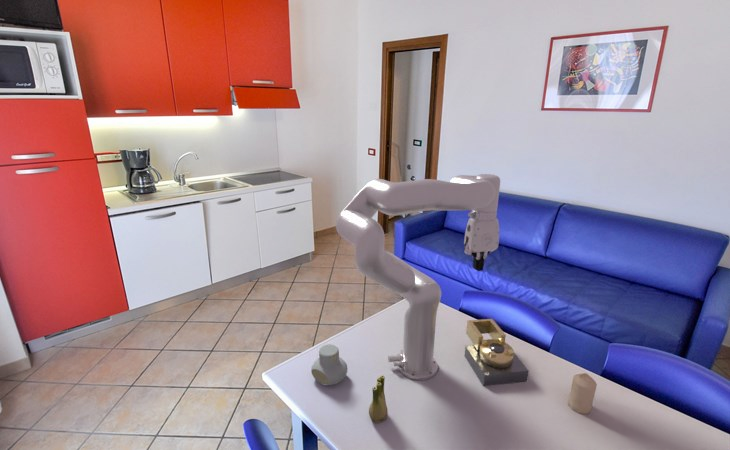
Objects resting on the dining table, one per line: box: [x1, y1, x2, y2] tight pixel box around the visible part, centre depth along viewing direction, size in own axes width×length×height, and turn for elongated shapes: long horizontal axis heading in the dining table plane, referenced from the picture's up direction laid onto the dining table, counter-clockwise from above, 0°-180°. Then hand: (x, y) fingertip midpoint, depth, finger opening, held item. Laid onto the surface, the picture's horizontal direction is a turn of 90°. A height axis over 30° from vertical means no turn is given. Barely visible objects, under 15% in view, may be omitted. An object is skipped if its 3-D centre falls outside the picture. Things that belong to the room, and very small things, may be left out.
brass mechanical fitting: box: [465, 318, 516, 368], centre depth 118 cm, size 18×10×5 cm, turn 7°
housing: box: [464, 341, 529, 387], centre depth 116 cm, size 14×14×4 cm
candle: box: [567, 372, 598, 415], centre depth 100 cm, size 6×6×10 cm
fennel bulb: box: [368, 375, 388, 423], centre depth 96 cm, size 6×5×12 cm
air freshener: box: [311, 343, 348, 386], centre depth 111 cm, size 11×8×10 cm
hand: (477, 269), depth 119 cm, fingers closed
